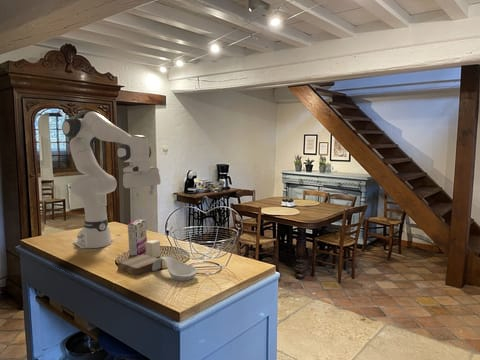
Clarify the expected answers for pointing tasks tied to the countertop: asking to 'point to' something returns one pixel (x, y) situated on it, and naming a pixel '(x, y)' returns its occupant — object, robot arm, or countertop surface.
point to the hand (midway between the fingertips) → (143, 195)
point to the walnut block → (137, 264)
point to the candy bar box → (137, 237)
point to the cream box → (153, 248)
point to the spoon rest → (176, 268)
